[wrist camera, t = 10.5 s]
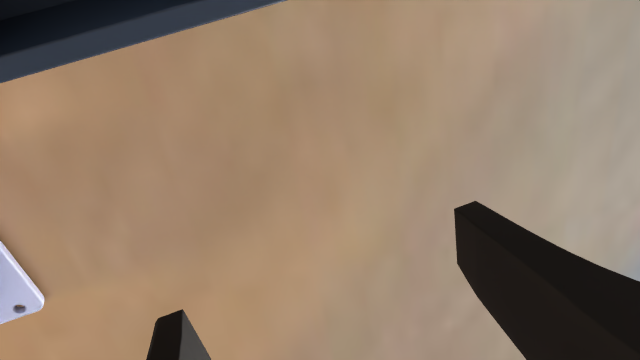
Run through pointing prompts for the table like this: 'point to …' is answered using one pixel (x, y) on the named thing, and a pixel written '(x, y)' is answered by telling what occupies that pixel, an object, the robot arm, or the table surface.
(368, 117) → the table surface
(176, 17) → the bin
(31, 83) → the table surface
